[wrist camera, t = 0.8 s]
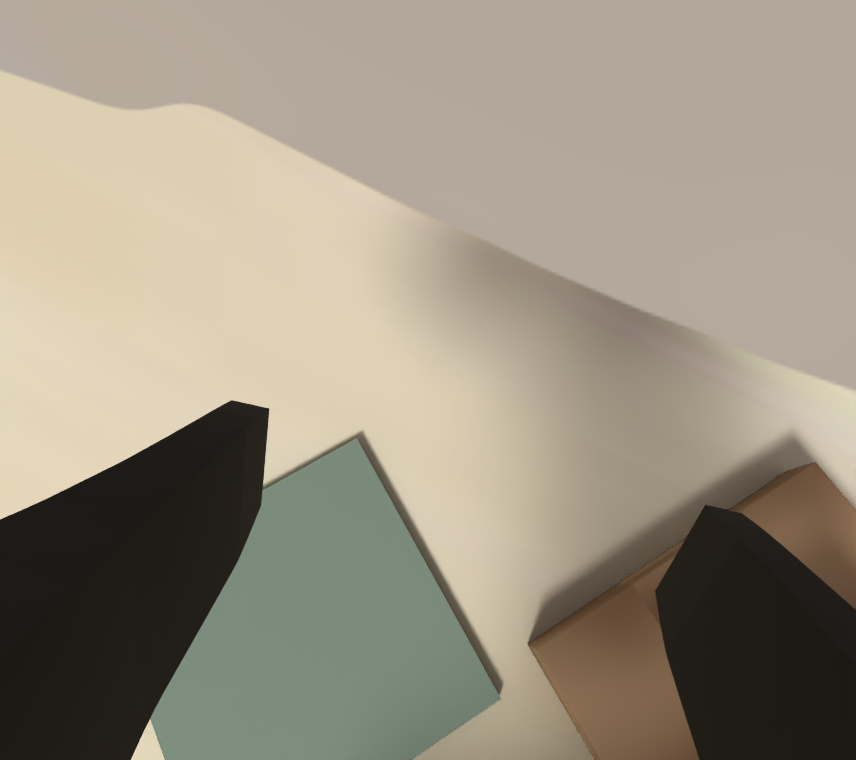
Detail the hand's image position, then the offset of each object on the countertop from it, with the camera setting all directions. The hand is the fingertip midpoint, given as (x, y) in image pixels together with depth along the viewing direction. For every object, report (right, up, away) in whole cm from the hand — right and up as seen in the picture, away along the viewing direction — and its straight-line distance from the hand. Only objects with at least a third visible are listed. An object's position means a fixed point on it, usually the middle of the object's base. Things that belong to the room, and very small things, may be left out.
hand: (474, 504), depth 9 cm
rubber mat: (-6, -8, +14) cm, 17 cm away
